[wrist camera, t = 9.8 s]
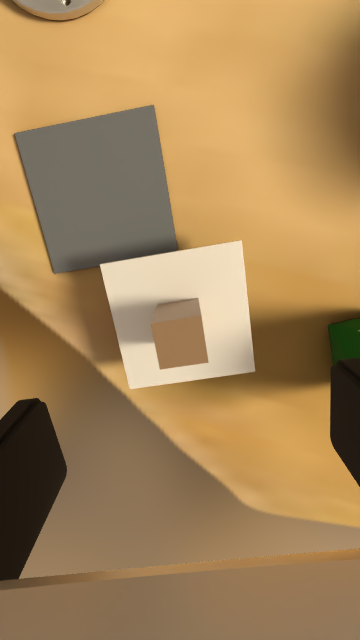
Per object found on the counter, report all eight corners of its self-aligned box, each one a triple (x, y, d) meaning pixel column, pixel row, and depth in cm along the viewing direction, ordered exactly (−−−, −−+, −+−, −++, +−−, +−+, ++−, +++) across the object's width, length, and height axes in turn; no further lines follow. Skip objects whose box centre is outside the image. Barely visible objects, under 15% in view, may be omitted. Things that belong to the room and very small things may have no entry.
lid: (102, 263, 26) (76, 273, 20) (239, 240, 25) (256, 243, 19) (131, 385, 29) (117, 425, 23) (253, 367, 29) (271, 404, 23)
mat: (16, 134, 28) (14, 133, 27) (154, 106, 27) (153, 104, 26) (56, 273, 31) (54, 273, 31) (178, 252, 30) (178, 252, 30)
